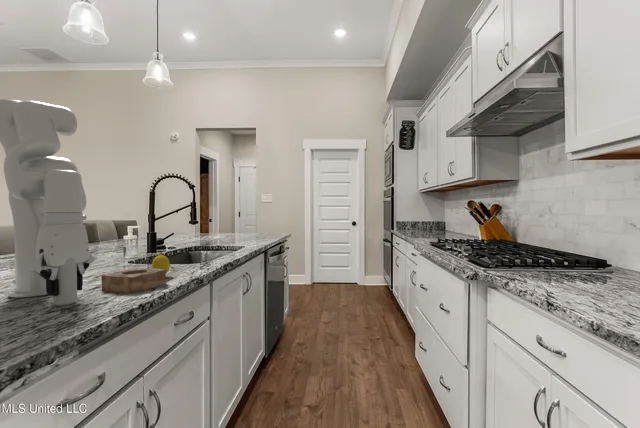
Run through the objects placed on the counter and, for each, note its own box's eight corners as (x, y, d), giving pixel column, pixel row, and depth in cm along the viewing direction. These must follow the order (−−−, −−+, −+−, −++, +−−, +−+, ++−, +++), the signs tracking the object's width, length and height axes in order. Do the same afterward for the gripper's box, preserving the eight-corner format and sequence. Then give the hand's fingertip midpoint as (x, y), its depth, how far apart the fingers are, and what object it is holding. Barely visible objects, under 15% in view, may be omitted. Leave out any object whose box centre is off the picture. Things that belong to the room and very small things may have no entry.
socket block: (98, 290, 95) (98, 275, 95) (137, 281, 107) (137, 267, 107) (132, 293, 91) (132, 277, 90) (168, 283, 103) (168, 269, 103)
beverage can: (64, 306, 79) (63, 257, 78) (47, 305, 80) (46, 256, 79) (82, 301, 83) (81, 254, 83) (66, 300, 84) (65, 254, 84)
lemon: (173, 275, 115) (172, 253, 115) (162, 279, 110) (162, 255, 110) (159, 275, 117) (159, 253, 117) (148, 278, 111) (148, 255, 111)
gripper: (87, 218, 90) (88, 283, 91) (12, 221, 74) (14, 300, 75) (107, 218, 88) (108, 286, 88) (34, 221, 72) (35, 303, 72)
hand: (65, 291), depth 81 cm, fingers closed on beverage can, 4 cm apart
